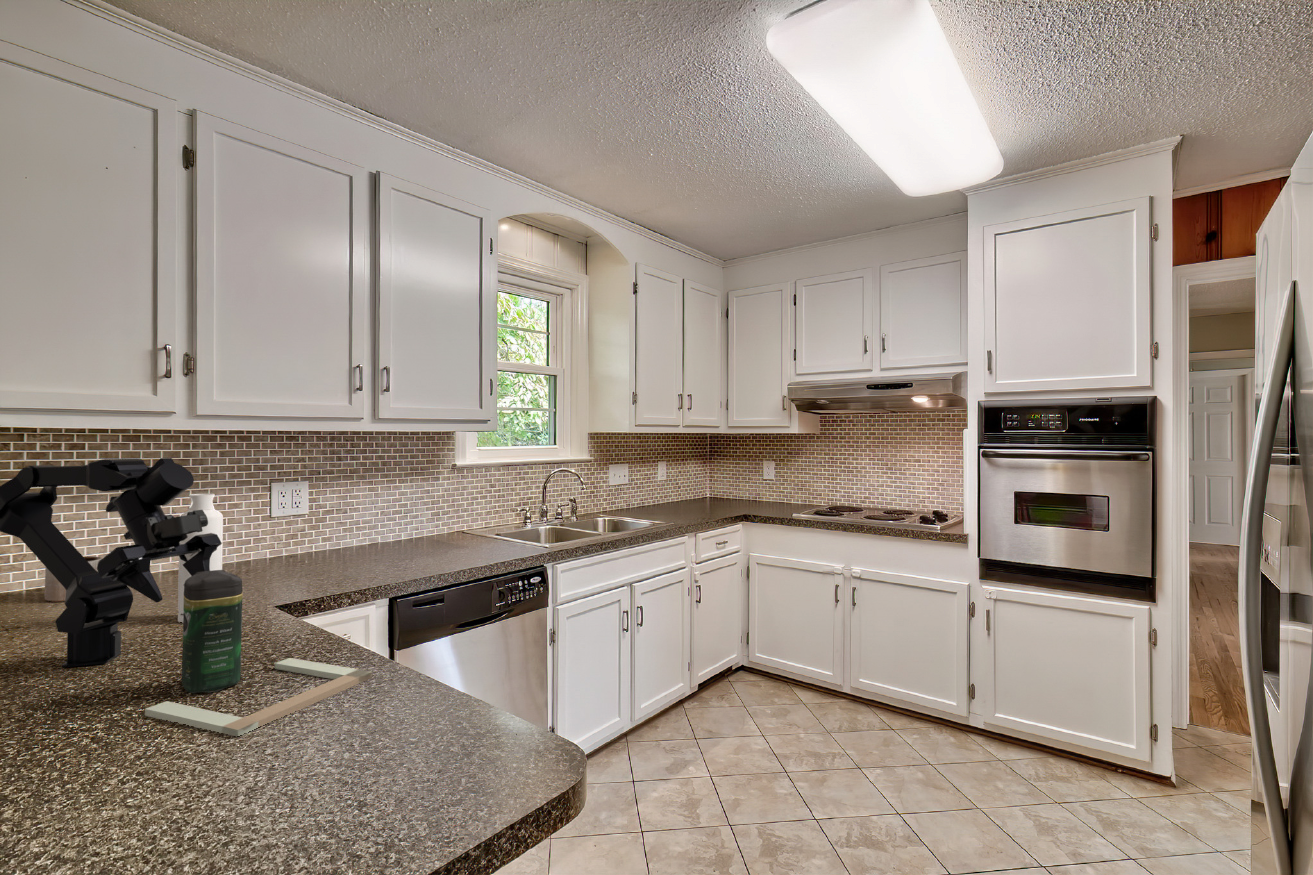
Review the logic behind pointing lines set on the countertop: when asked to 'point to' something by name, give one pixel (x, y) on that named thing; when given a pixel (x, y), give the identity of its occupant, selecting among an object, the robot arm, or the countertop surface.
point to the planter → (55, 588)
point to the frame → (240, 725)
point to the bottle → (213, 526)
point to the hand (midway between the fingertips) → (184, 594)
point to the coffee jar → (212, 631)
